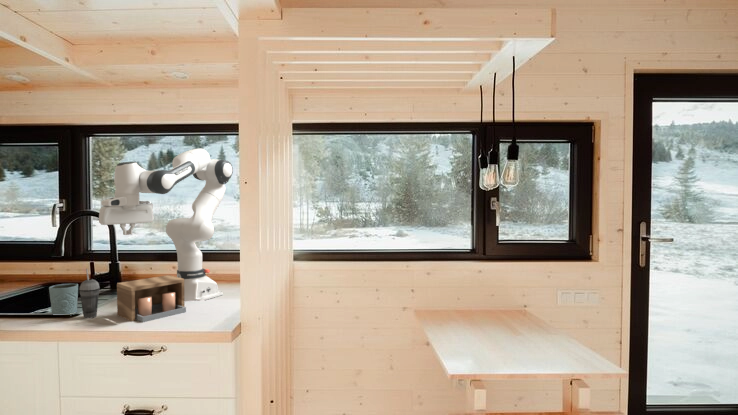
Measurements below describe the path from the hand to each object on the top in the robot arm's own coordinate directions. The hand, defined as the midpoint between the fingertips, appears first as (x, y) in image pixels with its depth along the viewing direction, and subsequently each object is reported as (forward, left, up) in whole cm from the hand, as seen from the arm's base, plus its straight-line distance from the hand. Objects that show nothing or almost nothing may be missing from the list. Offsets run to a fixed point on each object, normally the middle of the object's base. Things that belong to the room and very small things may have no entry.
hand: (127, 234), depth 176 cm
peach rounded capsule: (-3, +8, -34) cm, 34 cm away
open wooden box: (-8, +3, -34) cm, 35 cm away
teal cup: (+15, -25, -34) cm, 45 cm away
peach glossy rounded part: (-13, +8, -34) cm, 37 cm away
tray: (-8, +7, -34) cm, 36 cm away
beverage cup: (+10, -12, -34) cm, 38 cm away
